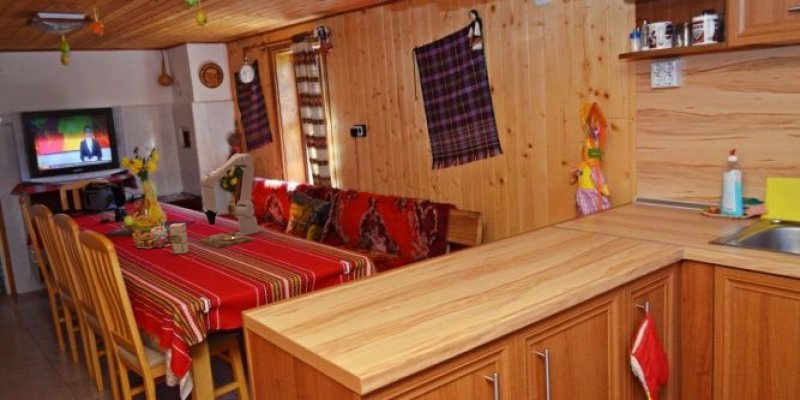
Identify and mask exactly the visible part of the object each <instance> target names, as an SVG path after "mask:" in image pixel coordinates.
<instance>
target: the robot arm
mask: <svg viewBox="0 0 800 400" xmlns="http://www.w3.org/2000/svg"><path fill="white" fill-rule="evenodd" d="M235 166H237V167H238V168H240V169H241V170H242V172H243V173H242V179H241V181H242V182H241V190H240V199H239V200H238V201H237V202H236V207H235V208H234V214H235V215H236V217H237V218H238V219H237V221H238V228H239V229H238V230H239V232H238V231H237V232H236V233H239V234H242V235H245V236H247V235H252V234H256V233H259V230H258V229H259V228H258V220H257V217H256V216H255V215H254V214H255V209H254V203H253V202H252V200H251V199H252V198H251V197H252V189H253V183H254V171H255V167H254V157H253V156H252V155H251V154H250V153H239V152H237V153H234V154H233V155H232V156H231V157H230V158H229V159H228V160H227V161H226V162H225V163H224V164H222V165H221V166H220V167H213V170H211V172H209V173H206V175H203V176H202V177H201V178H200V181H199V186H201V189H202V195H203V196H202V197H203V203H204V205H203V206H202V210H203V211H204V215H205V216H206V219H207V221H208V223H209V225H210V226H213V225H215V223H216V217H217V214H218V213H219V208H218V207H217V204H216V203H217V201H216V192H215V186H217V185H216V184H217V182H218V181H220V180H222V178H223V177H225V173H226V172H228V171H229V170H230V169H231V168H234V167H235Z"/></svg>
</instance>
